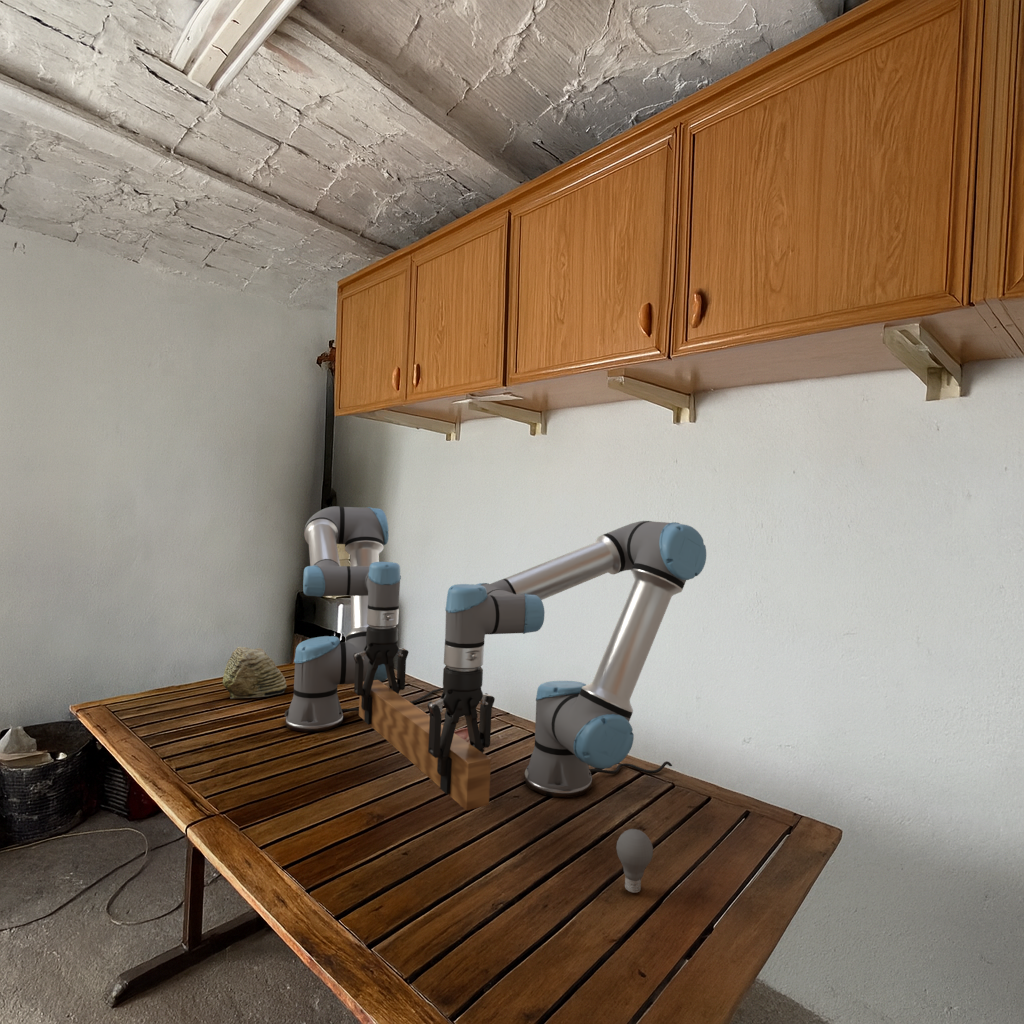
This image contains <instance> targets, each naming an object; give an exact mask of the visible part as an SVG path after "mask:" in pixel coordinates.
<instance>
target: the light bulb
mask: <svg viewBox="0 0 1024 1024" xmlns="http://www.w3.org/2000/svg"><path fill="white" fill-rule="evenodd" d="M615 849H616V854H617V857H618V859H619V861H620V863H621V865H622V867H623V873H624V874H623V875H624V876H625V878H624V888H625V890H627V891H628V892H630V893H634V894H635V893H639V892H640V891H641V889H642V887H641V886H642V879H643V877H644V875H645V871H646V868H647V867H648V866H649V864H650V863H651V861H652V859H653V855H654V847H653V843H652V841H651V838H649V836H648V835H647V834H646V833H645V832H643V831H642V830H641V829H636V828H629V829H627V830H625V831H623V832H622V833H621V834H620V835H619V837H618V839H617V841H616V847H615Z"/></svg>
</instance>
